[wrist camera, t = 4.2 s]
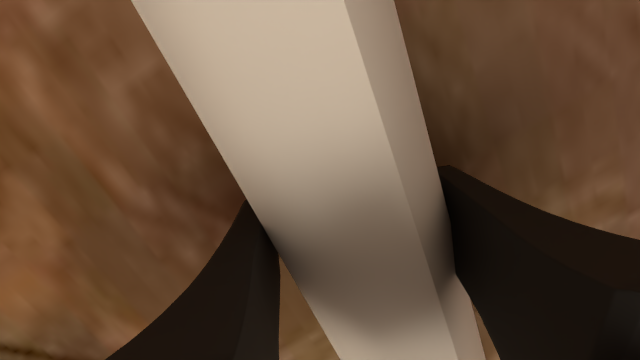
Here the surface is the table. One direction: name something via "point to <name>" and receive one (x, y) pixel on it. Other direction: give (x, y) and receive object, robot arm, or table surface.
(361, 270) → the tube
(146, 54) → the table surface
